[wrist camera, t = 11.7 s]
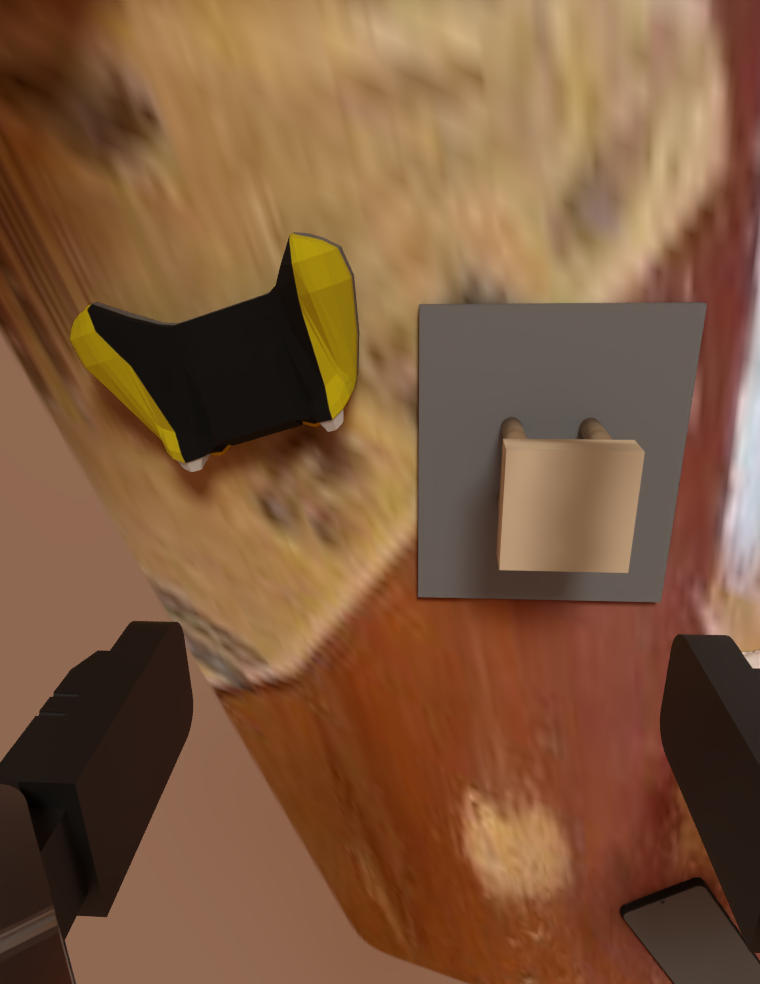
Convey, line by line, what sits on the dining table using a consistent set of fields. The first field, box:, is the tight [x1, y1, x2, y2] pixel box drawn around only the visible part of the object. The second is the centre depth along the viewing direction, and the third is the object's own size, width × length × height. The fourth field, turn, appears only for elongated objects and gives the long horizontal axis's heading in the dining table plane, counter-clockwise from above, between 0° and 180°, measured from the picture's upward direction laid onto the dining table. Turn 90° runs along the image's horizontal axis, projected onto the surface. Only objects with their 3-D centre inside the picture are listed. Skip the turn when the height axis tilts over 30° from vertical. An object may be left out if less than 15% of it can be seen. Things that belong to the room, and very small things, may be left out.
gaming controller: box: [70, 232, 359, 472], centre depth 38 cm, size 15×6×10 cm
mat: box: [418, 302, 707, 602], centre depth 41 cm, size 18×15×1 cm
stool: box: [496, 417, 645, 573], centre depth 38 cm, size 6×6×7 cm
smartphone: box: [620, 878, 760, 984], centre depth 56 cm, size 7×1×15 cm
